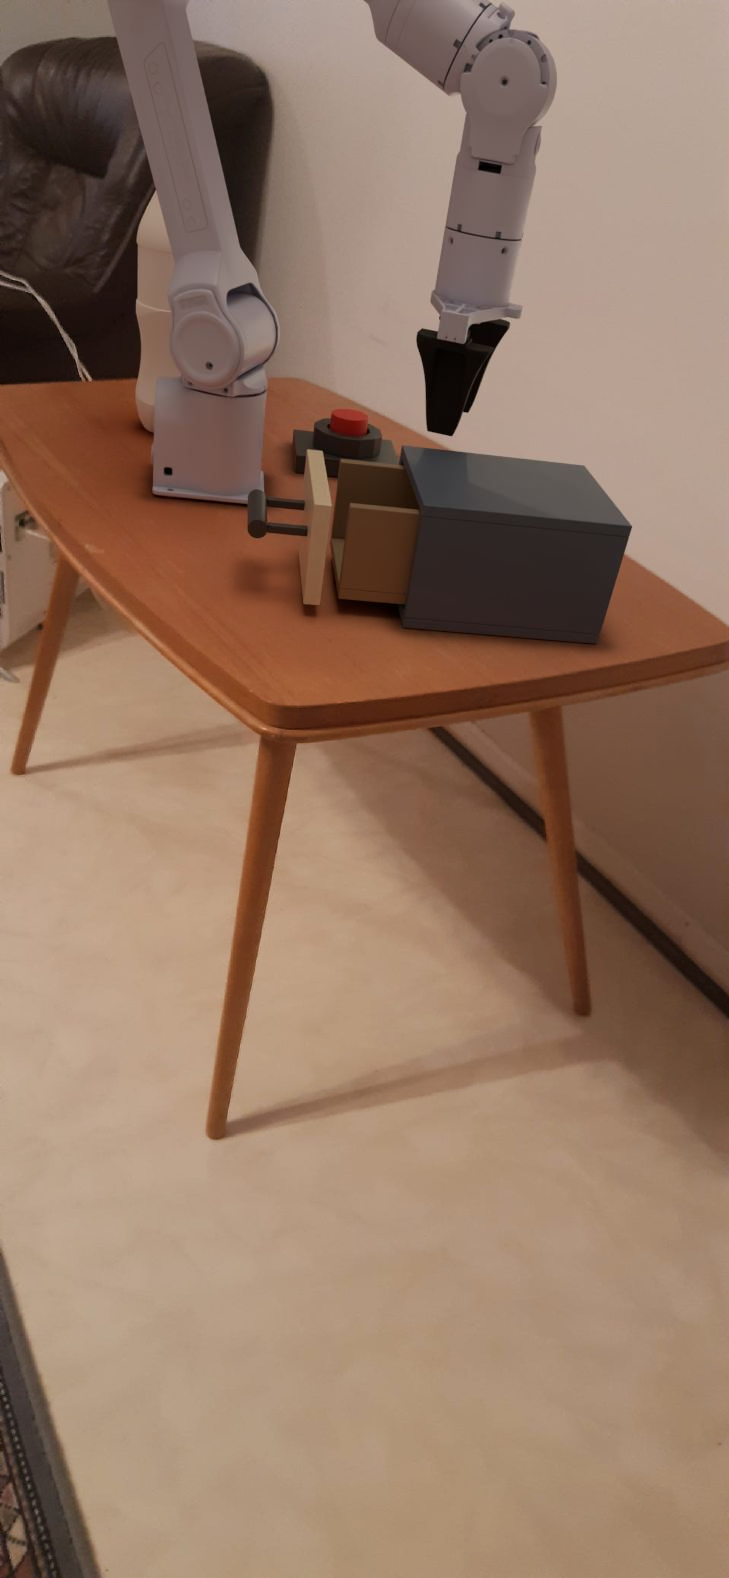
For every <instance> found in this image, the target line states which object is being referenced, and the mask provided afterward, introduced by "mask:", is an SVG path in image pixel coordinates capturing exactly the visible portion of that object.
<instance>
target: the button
mask: <svg viewBox="0 0 729 1578" xmlns="http://www.w3.org/2000/svg"><path fill="white" fill-rule="evenodd" d="M330 413H331V414H330V418H331V421H330V430H332V431H333V432H336V433H340V434H343V435H352V436H363V435H366V434H367V427H368V424H369V419H370V417H369V415H368V414H367V413H364V412H362V411H360V410H356V409H350V408H335V409H332V411H331V412H330Z"/></svg>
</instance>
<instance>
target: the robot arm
mask: <svg viewBox="0 0 729 1578" xmlns="http://www.w3.org/2000/svg"><path fill="white" fill-rule="evenodd" d="M363 1H364V2H365V4H367V5H368V7H369V10H370V14H371V19H372V25H373V29H374V35H375V38H376V40H377V41H378V42H380V44H382V45H384V46H385V47H386V48H387V49H389V50H390V51H391V52H392V53H394V54H395V55H396V56H397V57H399V58H400V59H401V60H402V61H404V62H405V63H406V64H407V65H409V66H410V67H411V68H413V69H414V70H415V71H417V72H418V73H419V74H420V75H421V76H423V77H424V78H426V79H427V80H428V81H429V82H430V83H432V84H433V85H434V86H436V88H438V89H439V90H440V91H442V92H443V93H444V94H446V95H447V96H448V97H455V96H459V95H460V98H461V103H462V106H463V109H464V111H465V113H466V114H465V118H464V124H463V130H462V137H461V142H460V147H459V152H458V153H457V155H456V158H455V166H454V171H453V177H452V184H451V190H450V195H449V202H448V207H447V212H446V213H447V214H446V219H445V226H444V231H443V237H442V243H441V249H440V256H439V261H438V262H439V263H438V268H437V275H436V280H435V286H434V289H433V290H431V295H430V301H429V302H430V304H431V306H432V307H433V308H434V310H435V311H436V312H437V313H438V315H439V317H438V320H439V324H438V330H432V329H428V328H424V327H422V328H420V329H419V330H418V331H417V332H416V338H415V340H416V341H415V343H416V348H417V350H418V353H419V356H420V361H421V365H422V370H423V376H424V388H425V389H424V390H425V422H426V423H425V424H426V431H427V432H430V433H433V434H439V435H443V436H448V437H453V436H454V434H455V432H456V431H457V429H458V427H459V424H460V422H461V419H462V416H463V413H466V414H468V413H470V410H471V409H472V407H473V405H474V403H475V401H476V398H477V394H478V392H479V390H480V387H481V384H482V382H483V379H484V376H485V374H486V371H487V368H488V365H489V363H490V361H491V359H492V357H493V355H494V353H495V351H496V349H497V347H498V346H499V344H500V342H501V341H502V339H503V338H504V336H505V335H506V334H507V332H508V331H509V329H510V327H511V322H510V321H508V320H506V319H505V318H510V319H515V320H520V319H521V318H522V317H523V315H524V310H525V307H524V305H521V304H516V303H512V302H510V301H511V296H512V290H513V286H514V281H515V276H516V271H517V267H518V266H517V265H518V260H519V257H520V251H521V247H522V241H523V238H524V231H525V227H526V222H527V218H528V214H529V213H528V212H529V209H530V203H531V197H532V193H533V188H534V183H535V178H536V173H537V166H536V165H537V164H536V159H537V155H538V153H539V151H540V149H541V142H542V129H543V126H542V125H537V124H538V123H539V122H541V120H542V119H543V118H544V117H545V116H546V115H547V113H548V112H549V109H550V108H551V106H552V104H553V102H554V99H555V96H556V91H557V85H558V72H557V66H556V63H555V59H554V57H553V55H552V53H551V52H550V50H549V48H548V47H547V45H546V44H545V43H544V42H543V41H542V40H541V39H540V37H539V35H538V34H537V33H535V32H533V31H529V30H523V29H515V28H513V29H511V24H512V21H513V19H514V17H515V15H516V11H515V10H514V9H513V8H512V7H511V6H509V5H508V4H507V3H505V2H503V1H502V2H500V4H499V5H498V6H497V5H495V4H494V3H492V2H491V1H490V0H363ZM106 2H107V6H108V10H109V14H110V18H111V22H112V25H113V29H114V33H115V37H116V40H117V45H118V48H119V53H120V56H121V60H122V64H123V67H124V72H125V76H126V79H127V83H128V88H129V91H130V94H131V98H132V103H133V106H134V110H135V114H136V118H137V122H138V126H139V130H140V133H141V137H142V141H143V145H144V148H145V153H146V156H147V157H146V158H147V160H148V164H149V168H150V172H151V175H152V180H153V185H154V188H155V191H156V192H157V195H158V199H159V203H160V207H161V211H162V215H163V219H164V223H165V226H166V230H167V234H168V238H169V242H170V246H171V250H172V253H173V257H174V261H175V265H174V270H173V273H172V277H171V281H170V285H169V288H168V294H167V298H168V301H169V305H170V309H171V316H172V325H171V331H170V343H169V344H170V351H171V355H172V358H173V361H174V363H175V365H176V367H177V369H178V370H179V372H180V373H181V377H158V378H157V383H156V393H155V410H154V433H153V443H151V447H150V449H151V451H150V465H151V466H153V467H152V468H153V469H152V488H151V491H152V494H153V495H156V496H162V497H174V498H182V499H183V498H184V499H191V500H202V501H214V502H222V503H233V504H241V505H242V504H243V505H248V495H249V493H250V492H251V491H252V490H255V489H258V490H261V491H263V492H264V493H265V475H264V474H265V472H264V471H263V470H261V469H262V459H263V458H262V457H263V447H264V446H263V445H264V434H265V432H264V431H265V419H266V408H267V407H266V406H267V393H268V379H267V375H266V372H265V365H266V364H267V363H268V362H269V361H270V360H271V359H272V358H273V357H274V356H275V354H276V352H277V351H278V347H279V344H280V339H281V326H280V321H279V318H278V315H277V312H276V310H275V309H274V307H273V306H272V304H271V303H270V302H269V300H268V299H267V297H266V296H265V294H264V292H263V290H262V288H261V284H260V280H259V275H258V272H257V270H256V268H255V267H254V265H253V264H252V263H251V261H250V259H249V258H248V257H247V255H246V254H245V253H244V251H243V249H242V248H241V244H240V241H239V236H238V232H237V228H236V224H235V223H236V222H235V219H234V214H233V210H232V206H231V205H232V204H231V201H230V197H229V193H228V192H229V191H228V189H227V188H228V187H227V184H226V179H225V175H224V170H223V165H222V162H221V158H220V153H219V149H218V145H217V140H216V136H215V132H214V127H213V123H212V119H211V113H210V109H209V105H208V101H207V97H206V92H205V88H204V84H203V79H202V75H201V70H200V66H199V61H198V57H197V53H196V52H197V51H196V48H195V44H194V39H193V35H192V30H191V27H190V23H189V22H190V21H189V18H188V13H187V8H188V5H189V2H190V0H106Z"/></svg>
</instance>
